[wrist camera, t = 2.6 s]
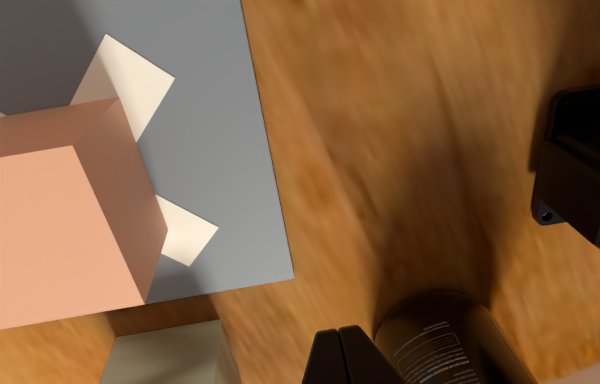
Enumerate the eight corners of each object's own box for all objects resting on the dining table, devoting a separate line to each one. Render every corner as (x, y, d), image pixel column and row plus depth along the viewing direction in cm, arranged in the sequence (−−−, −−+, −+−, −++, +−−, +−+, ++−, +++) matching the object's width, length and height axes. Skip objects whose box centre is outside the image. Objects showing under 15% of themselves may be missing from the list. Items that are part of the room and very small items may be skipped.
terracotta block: (119, 97, 15) (72, 145, 11) (168, 229, 18) (144, 304, 14) (-44, 124, 15) (-148, 182, 11) (32, 253, 18) (-29, 334, 14)
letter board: (230, -51, 14) (229, -51, 13) (293, 273, 21) (294, 279, 20) (-258, 30, 14) (-272, 32, 13) (-28, 329, 20) (-33, 335, 20)
